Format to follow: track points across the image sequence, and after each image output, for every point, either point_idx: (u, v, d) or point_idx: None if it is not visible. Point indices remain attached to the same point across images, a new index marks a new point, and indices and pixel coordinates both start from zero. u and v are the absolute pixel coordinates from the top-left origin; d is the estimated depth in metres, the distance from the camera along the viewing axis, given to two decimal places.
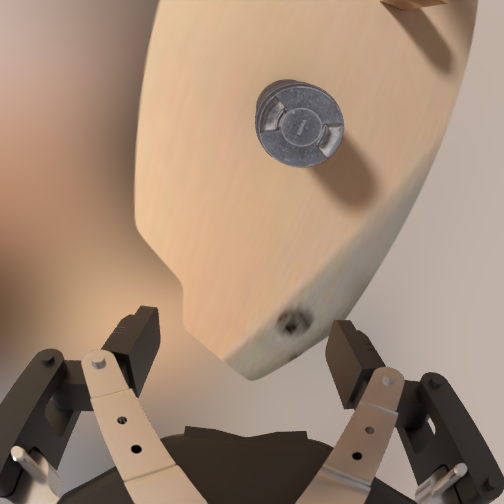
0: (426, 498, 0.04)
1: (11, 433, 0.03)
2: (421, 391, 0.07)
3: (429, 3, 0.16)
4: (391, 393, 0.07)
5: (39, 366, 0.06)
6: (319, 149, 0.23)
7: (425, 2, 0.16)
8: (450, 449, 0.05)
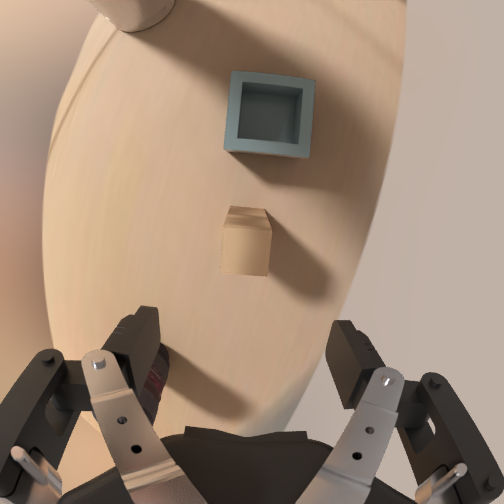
0: (426, 498, 0.04)
1: (11, 433, 0.03)
2: (421, 391, 0.07)
3: None
4: (391, 393, 0.07)
5: (39, 366, 0.06)
6: None
7: None
8: (450, 449, 0.05)
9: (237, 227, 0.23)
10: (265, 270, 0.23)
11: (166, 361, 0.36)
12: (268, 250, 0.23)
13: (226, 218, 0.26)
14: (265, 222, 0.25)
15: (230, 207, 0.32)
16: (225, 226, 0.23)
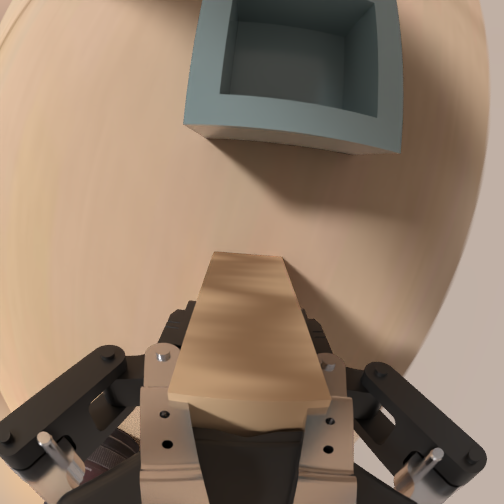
0: (409, 486, 0.04)
1: (44, 418, 0.04)
2: (368, 384, 0.08)
3: None
4: (326, 378, 0.08)
5: (96, 361, 0.07)
6: None
7: None
8: (418, 436, 0.05)
9: (216, 391, 0.06)
10: None
11: None
12: None
13: (191, 318, 0.09)
14: (298, 332, 0.09)
15: (212, 256, 0.15)
16: (176, 385, 0.06)
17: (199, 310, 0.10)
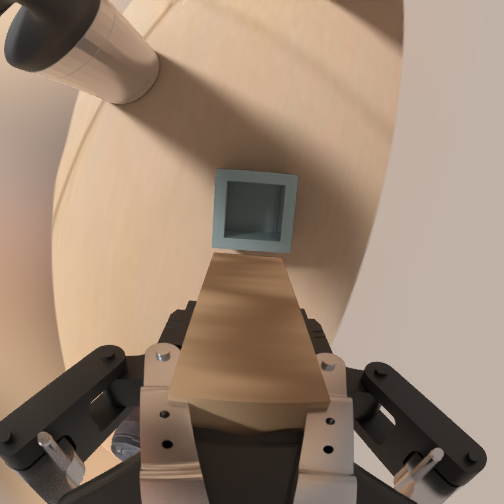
0: (409, 487, 0.04)
1: (44, 418, 0.04)
2: (368, 384, 0.08)
3: None
4: (326, 378, 0.08)
5: (96, 361, 0.07)
6: None
7: None
8: (418, 436, 0.05)
9: (216, 392, 0.06)
10: None
11: None
12: None
13: (191, 320, 0.09)
14: (298, 333, 0.09)
15: (212, 257, 0.15)
16: (176, 387, 0.06)
17: (199, 311, 0.10)
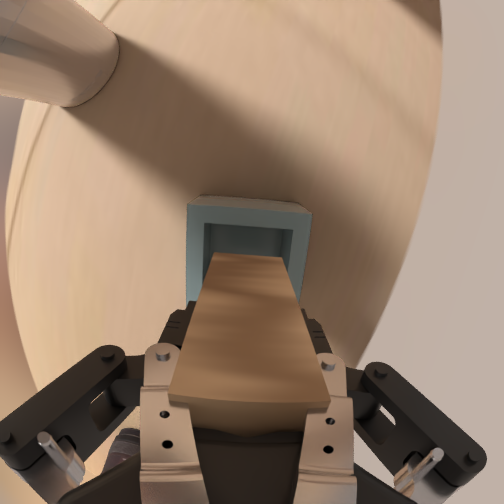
0: (409, 487, 0.04)
1: (44, 418, 0.04)
2: (368, 384, 0.08)
3: None
4: (326, 378, 0.08)
5: (96, 361, 0.07)
6: None
7: None
8: (418, 436, 0.05)
9: (216, 392, 0.06)
10: None
11: None
12: None
13: (191, 319, 0.09)
14: (298, 333, 0.09)
15: (212, 257, 0.15)
16: (176, 386, 0.06)
17: (199, 311, 0.10)
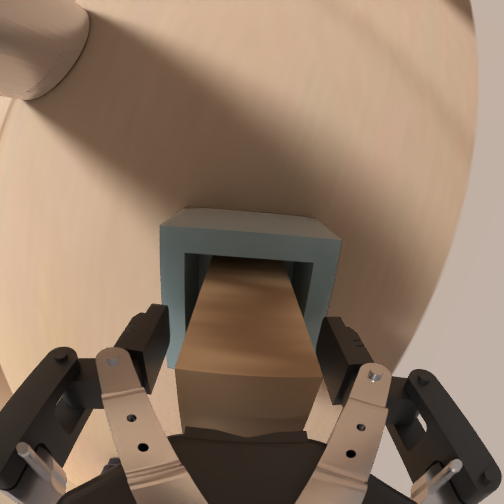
0: (423, 495, 0.04)
1: (18, 429, 0.04)
2: (409, 388, 0.07)
3: None
4: (377, 388, 0.07)
5: (51, 364, 0.06)
6: None
7: None
8: (443, 445, 0.05)
9: (218, 367, 0.07)
10: None
11: None
12: (304, 413, 0.07)
13: (195, 306, 0.10)
14: (294, 319, 0.10)
15: None
16: (183, 362, 0.07)
17: (203, 299, 0.11)
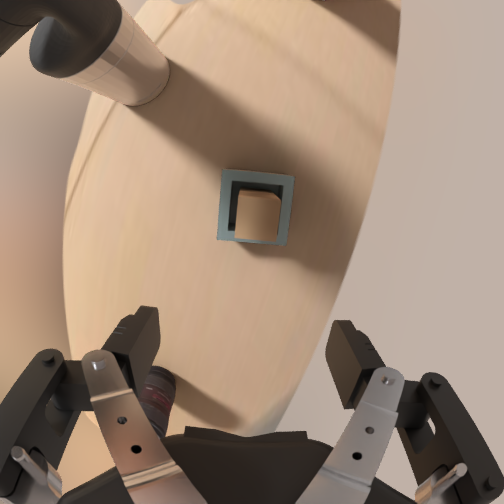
0: (426, 498, 0.04)
1: (11, 433, 0.03)
2: (421, 391, 0.07)
3: None
4: (391, 393, 0.07)
5: (39, 366, 0.06)
6: None
7: None
8: (450, 449, 0.05)
9: (250, 197, 0.26)
10: (274, 236, 0.27)
11: (173, 386, 0.44)
12: (277, 218, 0.26)
13: (239, 192, 0.29)
14: (274, 196, 0.28)
15: None
16: (240, 196, 0.26)
17: (241, 192, 0.29)
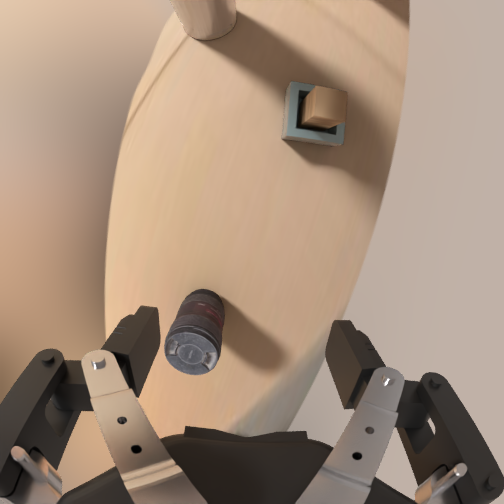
0: (426, 498, 0.04)
1: (11, 433, 0.03)
2: (421, 391, 0.07)
3: (333, 123, 0.32)
4: (391, 393, 0.07)
5: (39, 366, 0.06)
6: (204, 365, 0.36)
7: (329, 123, 0.32)
8: (450, 449, 0.05)
9: None
10: (344, 116, 0.29)
11: (223, 308, 0.47)
12: (345, 104, 0.29)
13: (310, 92, 0.31)
14: None
15: (301, 102, 0.37)
16: (317, 86, 0.28)
17: None
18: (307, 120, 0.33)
